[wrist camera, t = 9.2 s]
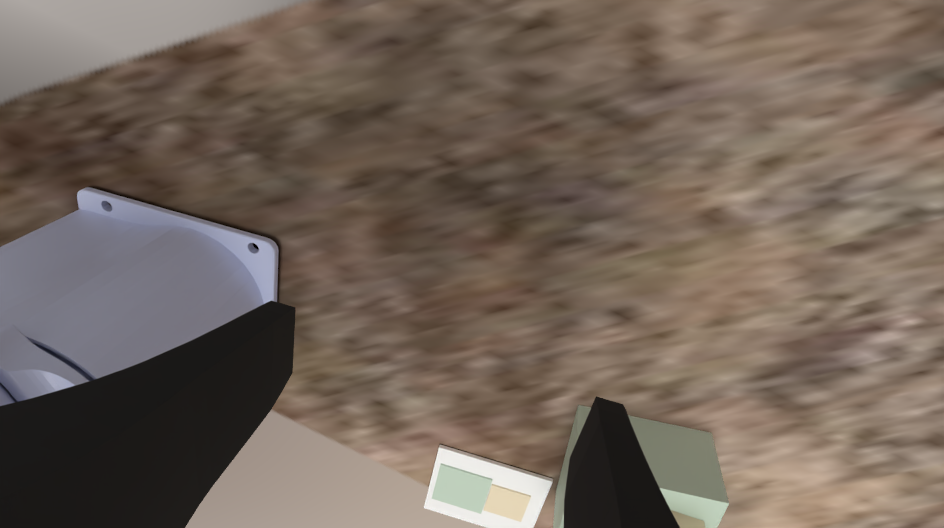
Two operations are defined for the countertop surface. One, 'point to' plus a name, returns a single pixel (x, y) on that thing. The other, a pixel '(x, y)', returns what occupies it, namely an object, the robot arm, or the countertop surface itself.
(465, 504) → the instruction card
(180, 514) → the robot arm
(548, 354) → the countertop surface
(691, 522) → the maple block
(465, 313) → the countertop surface
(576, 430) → the sage base block
